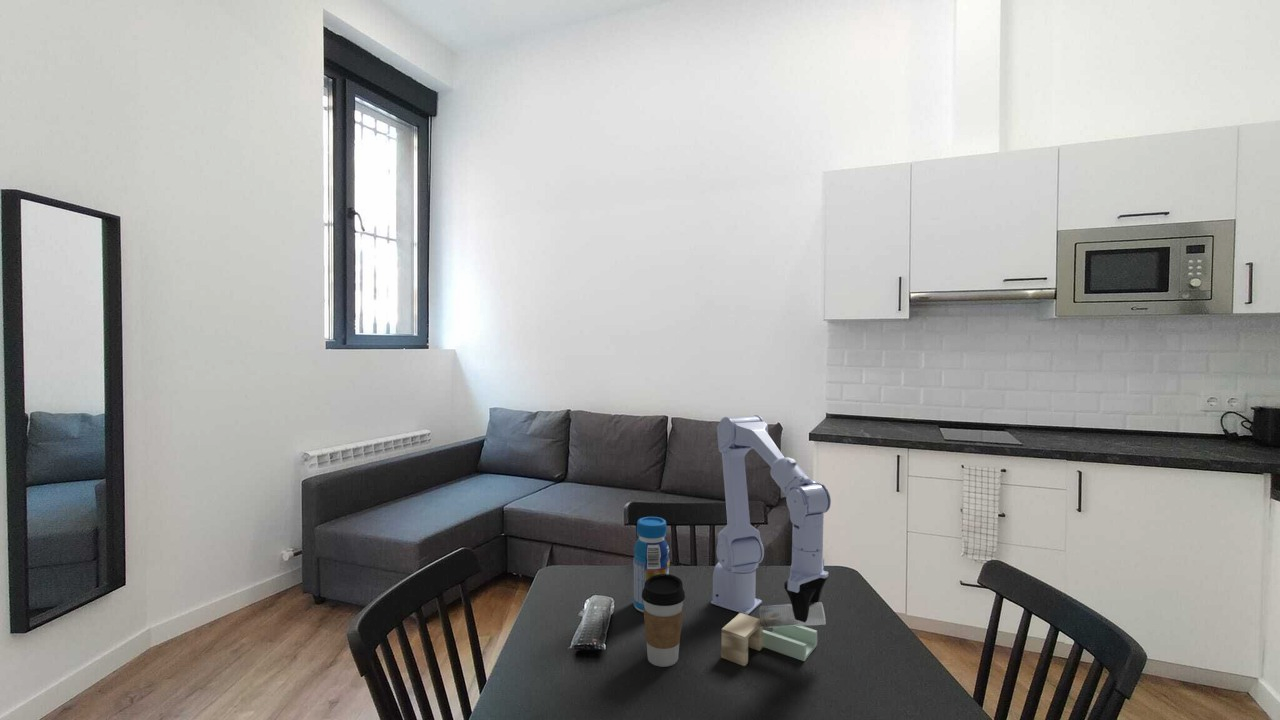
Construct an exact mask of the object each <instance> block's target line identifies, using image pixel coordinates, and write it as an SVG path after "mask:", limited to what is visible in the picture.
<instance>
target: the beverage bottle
mask: <svg viewBox="0 0 1280 720" xmlns="http://www.w3.org/2000/svg"><path fill="white" fill-rule="evenodd" d="M636 524H637V525H636V534H637V537H638V538H637V540H636V541H635V544H634V547H633V552H634V556H633V558H632V559H633V560H632V564H633V606H634V608H635V609H636V610H637V611H639V612H641V613H644V610H643V606H644V600H643V598H642V591H643V589H644V584H645V582H646V580H647V579H649V578H650V577H652V576H654V575H658V574H670V572H669V571H670V564H671V561H670V557H669V554H670V548H669V545H668V542H667V540H666V539H665V537H666V535H667V521H666V520H665V519H664V518H663V517H658V516H646V517H645V516H644V517H640V518H639V519H638V520H637V522H636Z"/></svg>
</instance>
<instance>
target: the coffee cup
mask: <svg viewBox="0 0 1280 720" xmlns="http://www.w3.org/2000/svg"><path fill="white" fill-rule="evenodd" d="M642 598H643V600H644V606H643V610H644V612H643V618H644V619H643V621H644V630H645V631H644V632H645V640H646V652H647V653H646V654H647V661H648V662H649V663H650V664H652V665H653V666H657V667H662V668H663V667H665V668H666V667H667V668H668V667H670V666H673V665H675V664H676V663H677V662H678V660H679V652H680V650H679V649H680V641H681V632H682V624H683V623H682V622H683V616H684V615H683V614H684V605H683V602H684V600H685V598H686V593H685V590H684V587H683V581H682V580H681V578H679V577H677V576H676V575H673V574H670V573H669V574H658V575H654V576H652V577H650V578H649V579H647V580H646V582H645V584H644V589H643V591H642Z"/></svg>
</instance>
